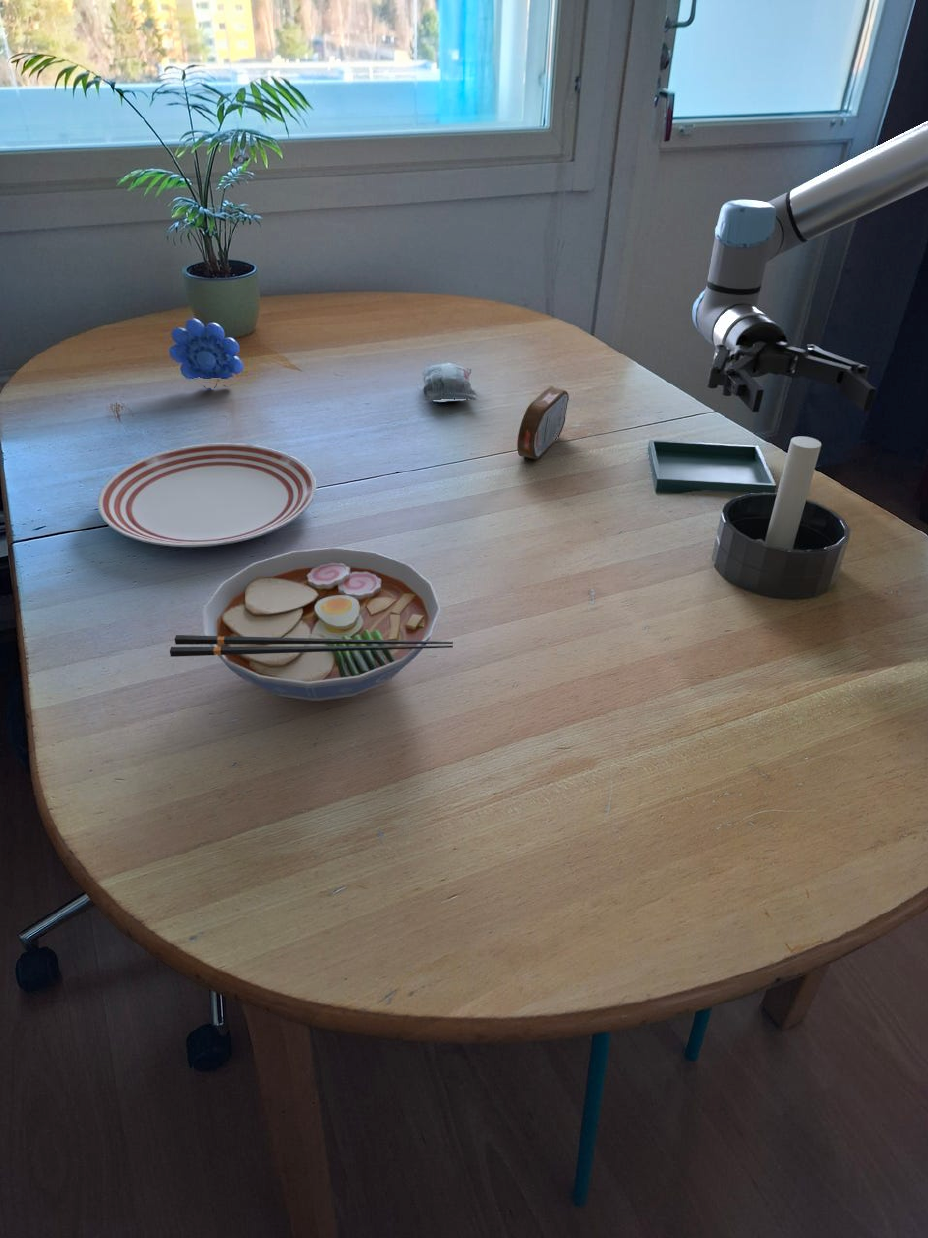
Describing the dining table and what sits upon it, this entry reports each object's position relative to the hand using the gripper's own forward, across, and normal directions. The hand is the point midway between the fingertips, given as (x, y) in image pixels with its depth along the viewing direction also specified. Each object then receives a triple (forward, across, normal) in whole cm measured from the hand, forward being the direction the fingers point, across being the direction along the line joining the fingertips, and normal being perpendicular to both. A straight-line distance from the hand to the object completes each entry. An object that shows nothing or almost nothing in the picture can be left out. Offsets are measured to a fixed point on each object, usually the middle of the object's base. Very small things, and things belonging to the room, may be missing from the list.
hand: (814, 400), depth 102 cm
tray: (-17, +4, -18) cm, 25 cm away
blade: (+9, +4, -17) cm, 20 cm away
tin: (-27, +26, -18) cm, 42 cm away
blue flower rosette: (-53, +79, -19) cm, 97 cm away
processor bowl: (+9, +4, -18) cm, 21 cm away
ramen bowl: (+24, +57, -18) cm, 64 cm away
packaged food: (-49, +39, -18) cm, 65 cm away
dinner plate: (-10, +73, -18) cm, 76 cm away
